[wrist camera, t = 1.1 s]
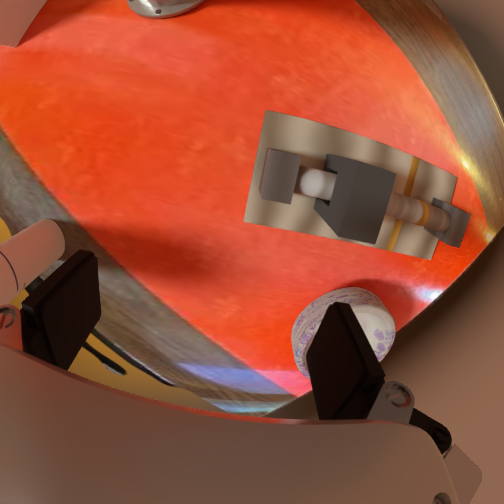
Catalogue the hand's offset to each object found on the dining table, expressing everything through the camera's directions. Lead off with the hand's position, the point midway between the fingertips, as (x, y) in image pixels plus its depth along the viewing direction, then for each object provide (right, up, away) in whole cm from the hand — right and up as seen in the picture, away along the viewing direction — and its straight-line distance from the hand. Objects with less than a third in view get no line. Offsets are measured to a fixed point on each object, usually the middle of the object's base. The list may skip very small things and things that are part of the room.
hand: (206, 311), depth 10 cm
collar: (+12, +10, +21) cm, 27 cm away
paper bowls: (+15, -8, +31) cm, 36 cm away
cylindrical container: (-31, +4, +25) cm, 40 cm away
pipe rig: (+17, +10, +23) cm, 30 cm away
